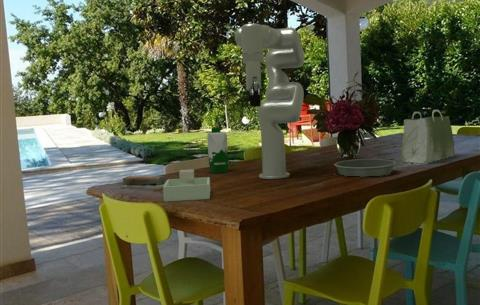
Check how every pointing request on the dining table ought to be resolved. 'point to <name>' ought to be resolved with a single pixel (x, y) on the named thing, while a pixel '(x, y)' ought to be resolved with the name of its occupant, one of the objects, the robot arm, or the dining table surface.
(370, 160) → the cake pan
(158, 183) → the packaged product
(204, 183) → the sage bin
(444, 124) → the grocery bag
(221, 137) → the milk carton
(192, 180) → the cream block
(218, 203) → the dining table surface
